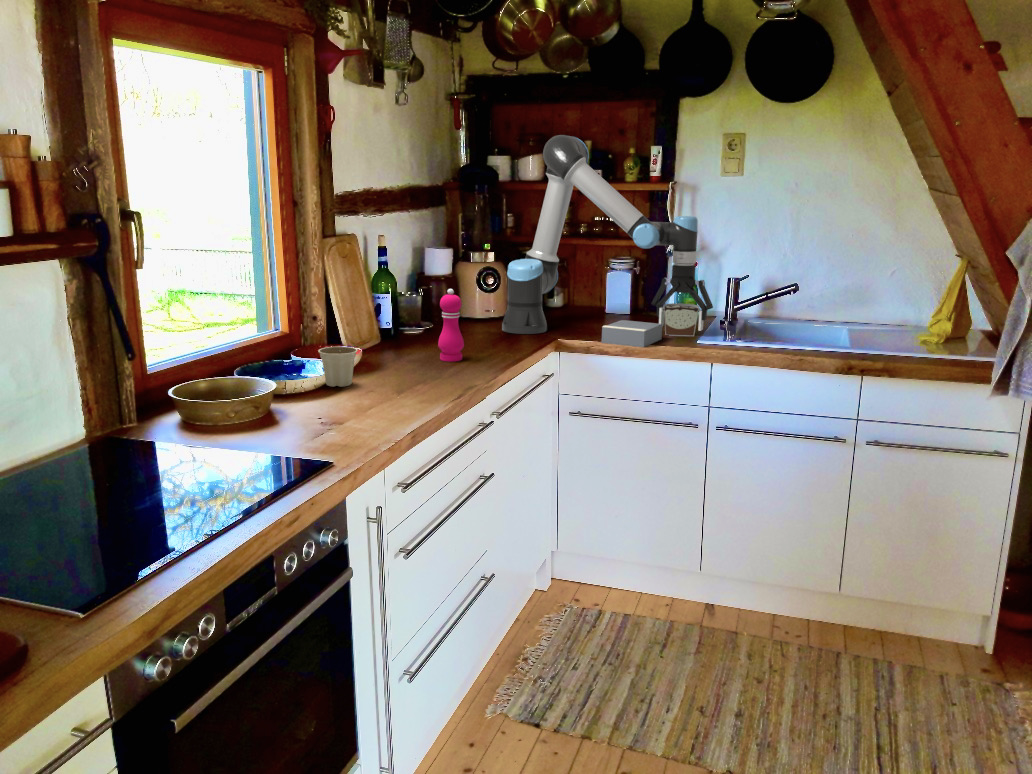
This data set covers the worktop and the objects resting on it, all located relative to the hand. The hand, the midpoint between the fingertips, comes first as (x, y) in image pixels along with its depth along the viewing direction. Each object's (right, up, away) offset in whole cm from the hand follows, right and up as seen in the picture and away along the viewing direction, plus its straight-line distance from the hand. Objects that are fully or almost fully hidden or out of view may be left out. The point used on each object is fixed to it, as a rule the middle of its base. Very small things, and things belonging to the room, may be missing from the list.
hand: (680, 328), depth 277 cm
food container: (0, -2, +1) cm, 2 cm away
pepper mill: (-73, -12, -42) cm, 85 cm away
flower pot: (-98, -19, -72) cm, 123 cm away
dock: (-18, -5, -12) cm, 22 cm away
